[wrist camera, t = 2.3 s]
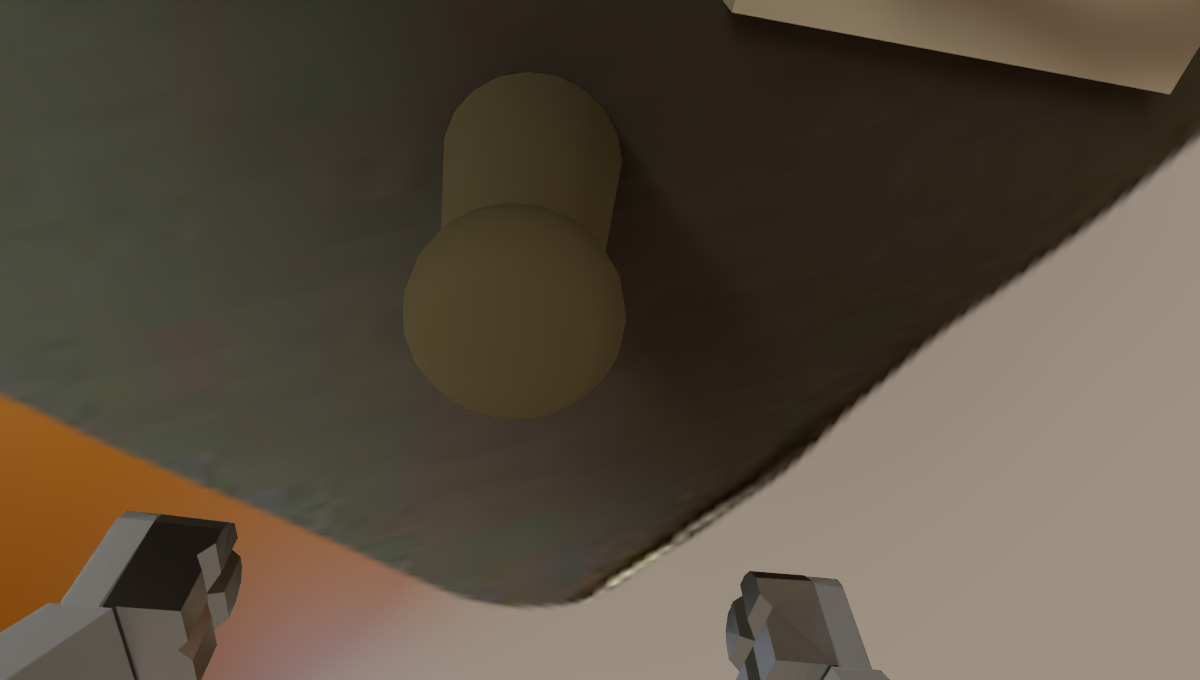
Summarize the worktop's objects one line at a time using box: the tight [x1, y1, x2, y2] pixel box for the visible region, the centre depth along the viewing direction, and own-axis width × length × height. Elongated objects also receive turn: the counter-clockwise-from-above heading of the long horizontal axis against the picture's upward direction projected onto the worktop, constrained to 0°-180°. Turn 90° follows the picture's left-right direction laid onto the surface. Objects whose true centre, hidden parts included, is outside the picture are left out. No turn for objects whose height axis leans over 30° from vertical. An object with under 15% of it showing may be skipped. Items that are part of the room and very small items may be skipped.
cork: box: [403, 72, 626, 420], centre depth 21 cm, size 6×6×11 cm
